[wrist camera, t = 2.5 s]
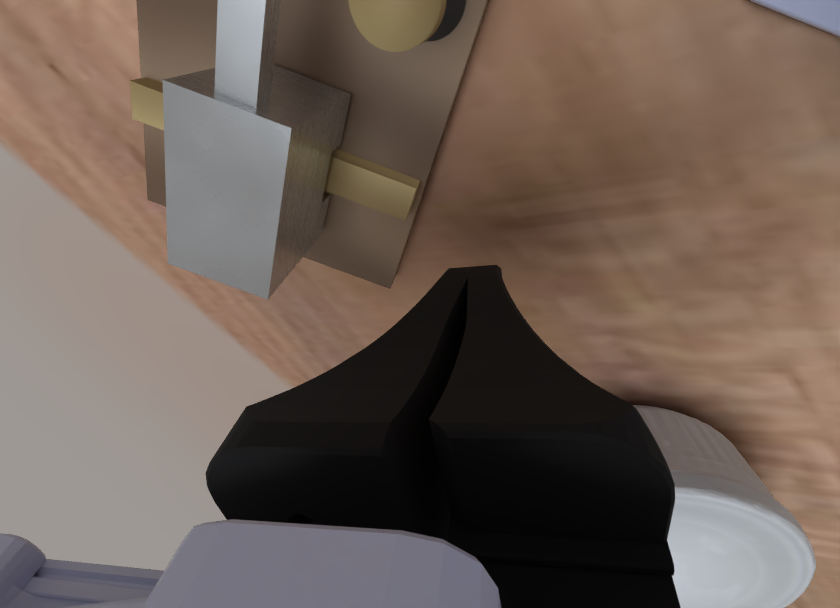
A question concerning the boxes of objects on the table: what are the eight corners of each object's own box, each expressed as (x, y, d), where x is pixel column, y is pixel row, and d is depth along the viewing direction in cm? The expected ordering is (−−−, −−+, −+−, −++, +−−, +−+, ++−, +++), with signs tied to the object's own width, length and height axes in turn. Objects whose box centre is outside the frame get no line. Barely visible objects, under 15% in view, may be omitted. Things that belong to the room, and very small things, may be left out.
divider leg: (322, 233, 17) (268, 299, 13) (244, 204, 16) (167, 263, 13) (379, -45, 12) (317, -65, 8) (270, -88, 12) (156, -130, 8)
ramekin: (483, 491, 26) (477, 589, 22) (565, 353, 19) (580, 453, 15) (668, 548, 26) (699, 658, 22) (812, 428, 19) (897, 550, 15)
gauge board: (395, 276, 19) (357, 363, 14) (164, 190, 18) (49, 253, 14) (537, -142, 11) (552, -238, 7) (148, -301, 11) (-113, -516, 6)
